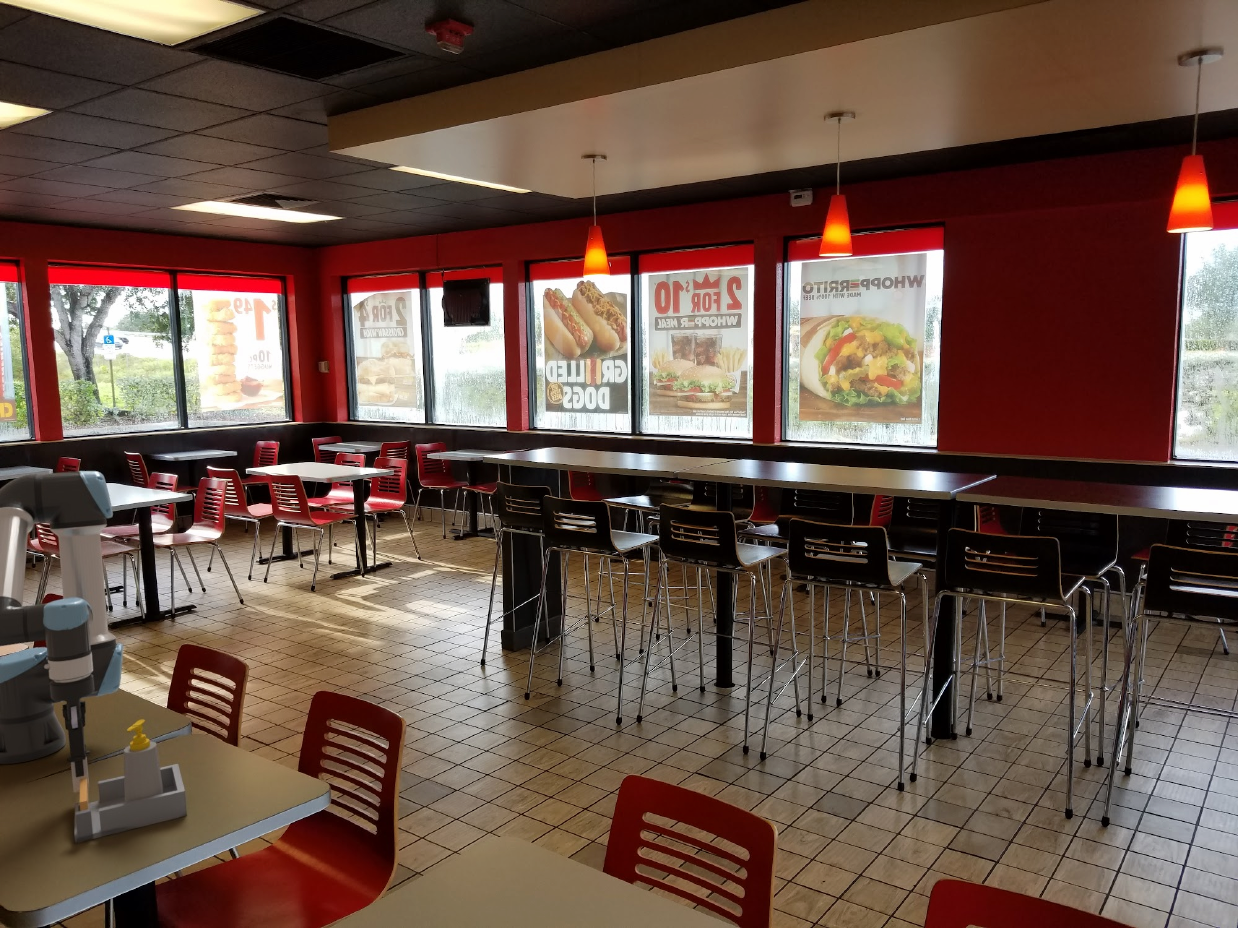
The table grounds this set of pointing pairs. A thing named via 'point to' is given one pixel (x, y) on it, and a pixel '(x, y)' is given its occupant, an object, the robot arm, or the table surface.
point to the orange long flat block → (84, 795)
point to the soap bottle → (141, 766)
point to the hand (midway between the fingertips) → (81, 789)
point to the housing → (130, 807)
